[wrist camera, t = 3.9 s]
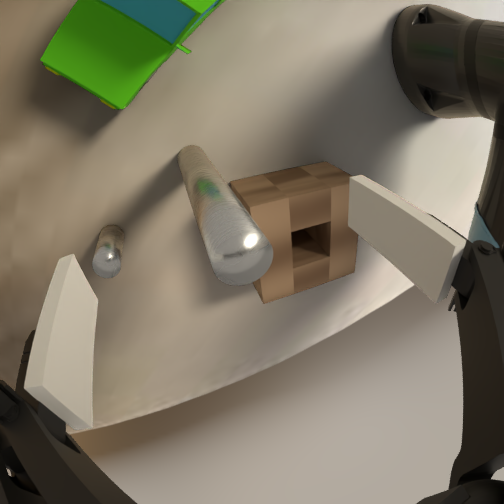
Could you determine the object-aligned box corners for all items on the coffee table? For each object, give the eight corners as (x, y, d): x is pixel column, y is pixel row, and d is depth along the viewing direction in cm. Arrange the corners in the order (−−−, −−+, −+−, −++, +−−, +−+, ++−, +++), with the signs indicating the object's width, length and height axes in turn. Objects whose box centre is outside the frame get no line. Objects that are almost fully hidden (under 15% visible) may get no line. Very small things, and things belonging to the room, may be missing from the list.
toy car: (47, 62, 15) (-11, 54, 7) (152, -54, 12) (158, -114, 4) (137, 117, 21) (125, 135, 13) (241, 2, 17) (292, -36, 9)
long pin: (174, 149, 23) (205, 242, 10) (202, 142, 23) (270, 224, 11) (180, 174, 24) (219, 292, 12) (207, 167, 25) (275, 275, 12)
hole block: (230, 181, 26) (249, 207, 21) (325, 161, 28) (361, 181, 23) (245, 267, 32) (263, 303, 27) (326, 243, 34) (354, 272, 29)
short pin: (96, 228, 24) (87, 257, 20) (119, 221, 25) (113, 249, 21) (105, 250, 26) (99, 281, 22) (127, 243, 26) (124, 273, 22)
